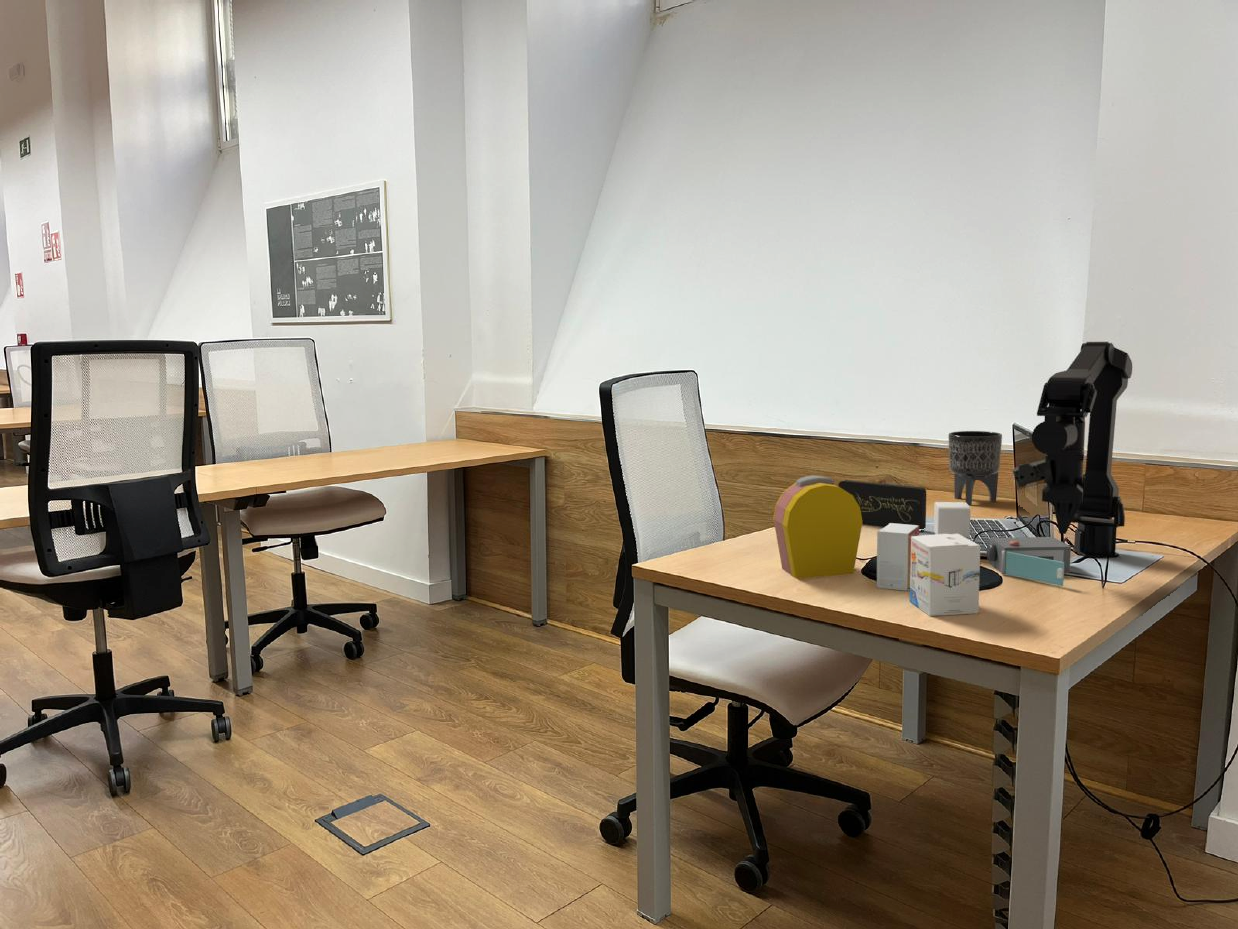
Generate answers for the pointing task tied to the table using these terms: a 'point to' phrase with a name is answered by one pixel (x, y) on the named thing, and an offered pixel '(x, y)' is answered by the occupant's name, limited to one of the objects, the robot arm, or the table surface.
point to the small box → (895, 556)
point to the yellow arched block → (817, 528)
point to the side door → (1033, 568)
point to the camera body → (1029, 549)
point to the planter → (974, 461)
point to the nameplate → (888, 503)
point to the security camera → (952, 518)
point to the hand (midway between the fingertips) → (1062, 533)
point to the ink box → (945, 574)
